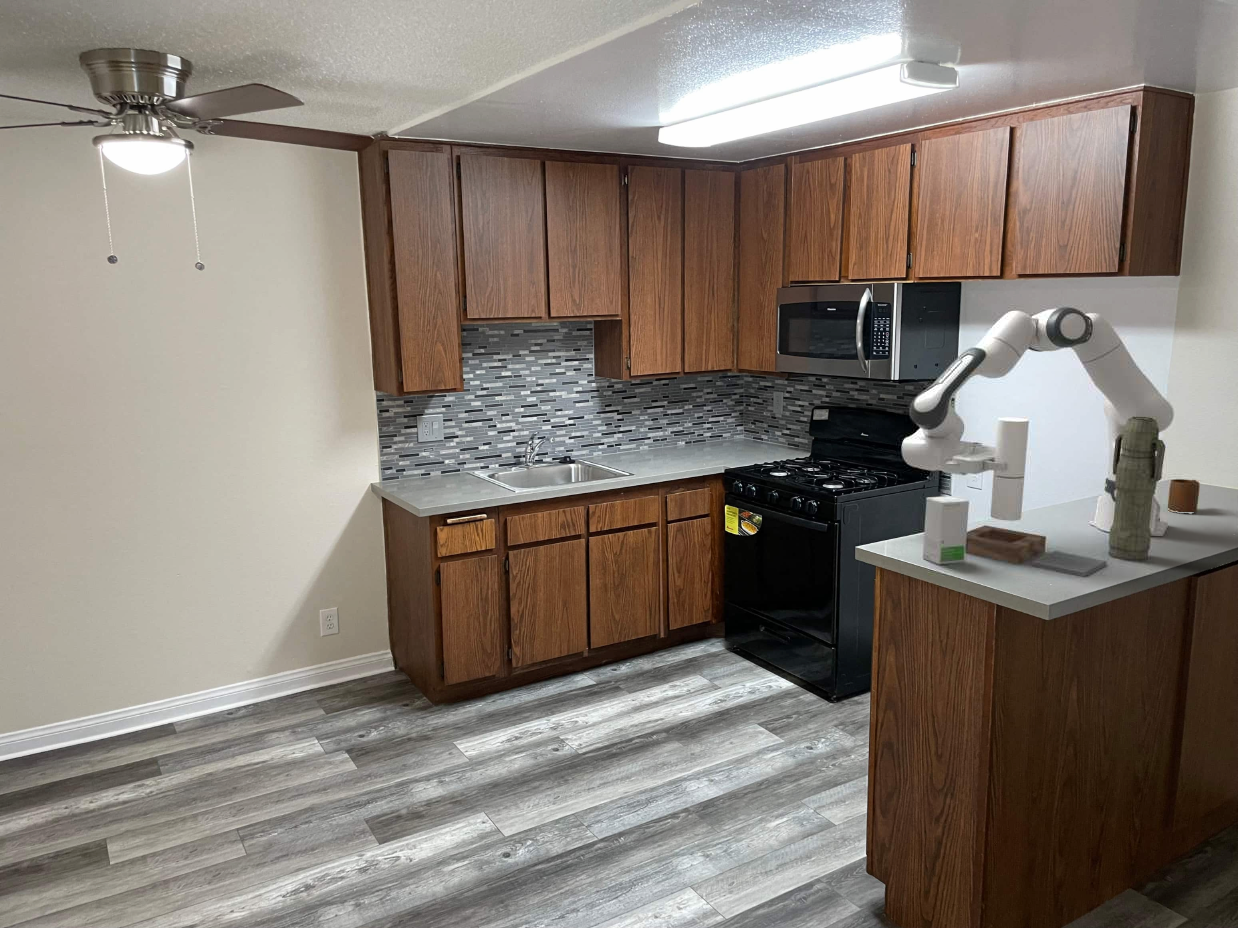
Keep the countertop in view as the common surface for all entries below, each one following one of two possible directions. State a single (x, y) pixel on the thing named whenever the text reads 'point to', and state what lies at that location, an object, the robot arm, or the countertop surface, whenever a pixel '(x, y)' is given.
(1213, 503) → the countertop surface
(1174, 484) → the mug
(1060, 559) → the rubber mat
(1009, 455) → the cylindrical container
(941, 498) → the skincare box
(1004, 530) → the pocket block
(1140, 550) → the thermos
